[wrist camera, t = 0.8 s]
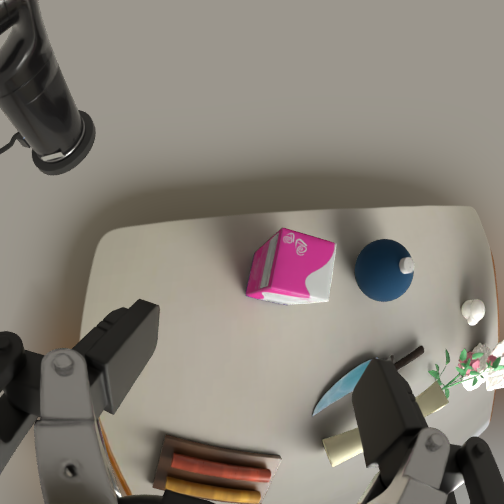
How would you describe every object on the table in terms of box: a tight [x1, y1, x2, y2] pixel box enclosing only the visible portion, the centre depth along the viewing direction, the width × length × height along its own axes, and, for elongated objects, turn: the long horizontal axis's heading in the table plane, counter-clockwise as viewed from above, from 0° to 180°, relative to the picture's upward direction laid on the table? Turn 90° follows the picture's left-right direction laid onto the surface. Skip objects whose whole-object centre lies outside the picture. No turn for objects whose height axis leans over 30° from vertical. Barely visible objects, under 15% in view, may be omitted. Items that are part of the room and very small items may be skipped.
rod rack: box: [153, 434, 282, 504], centre depth 27 cm, size 16×10×3 cm, turn 73°
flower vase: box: [322, 349, 504, 467], centre depth 33 cm, size 12×12×35 cm
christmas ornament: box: [355, 239, 414, 302], centre depth 33 cm, size 8×8×10 cm
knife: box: [312, 346, 424, 417], centre depth 35 cm, size 22×2×5 cm
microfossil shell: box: [462, 299, 485, 325], centre depth 39 cm, size 4×5×6 cm
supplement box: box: [246, 228, 337, 305], centre depth 29 cm, size 6×6×12 cm
